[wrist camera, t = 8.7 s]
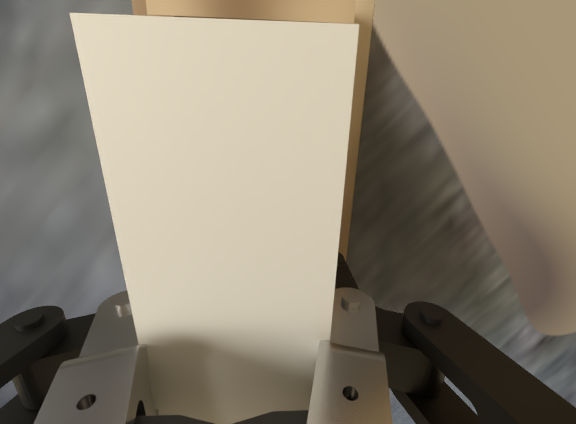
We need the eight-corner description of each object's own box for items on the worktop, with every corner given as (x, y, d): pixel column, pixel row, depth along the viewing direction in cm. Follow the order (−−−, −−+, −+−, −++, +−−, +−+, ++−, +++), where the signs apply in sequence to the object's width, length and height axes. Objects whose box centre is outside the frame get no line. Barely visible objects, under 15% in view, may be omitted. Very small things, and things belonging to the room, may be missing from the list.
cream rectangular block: (304, 72, 12) (362, 24, 4) (293, 344, 17) (312, 541, 9) (199, 69, 11) (65, 12, 4) (221, 345, 16) (179, 550, 9)
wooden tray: (366, -2, 15) (398, -37, 11) (331, 338, 23) (343, 386, 19) (142, -13, 14) (95, -54, 10) (186, 341, 22) (169, 391, 18)
